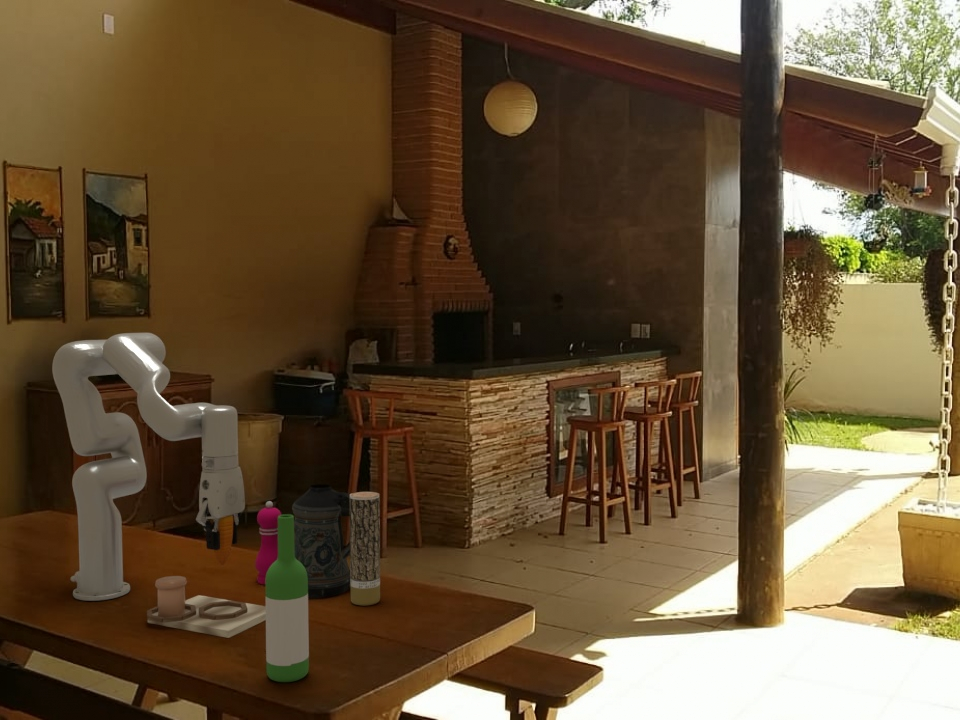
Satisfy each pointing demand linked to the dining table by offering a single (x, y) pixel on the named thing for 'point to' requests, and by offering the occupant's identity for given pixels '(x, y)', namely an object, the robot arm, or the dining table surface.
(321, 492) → the beer stein
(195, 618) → the stand
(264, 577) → the pepper mill
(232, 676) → the dining table surface
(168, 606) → the pink lidded jar
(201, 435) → the robot arm
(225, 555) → the carrot
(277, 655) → the wine bottle
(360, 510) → the paper tube
